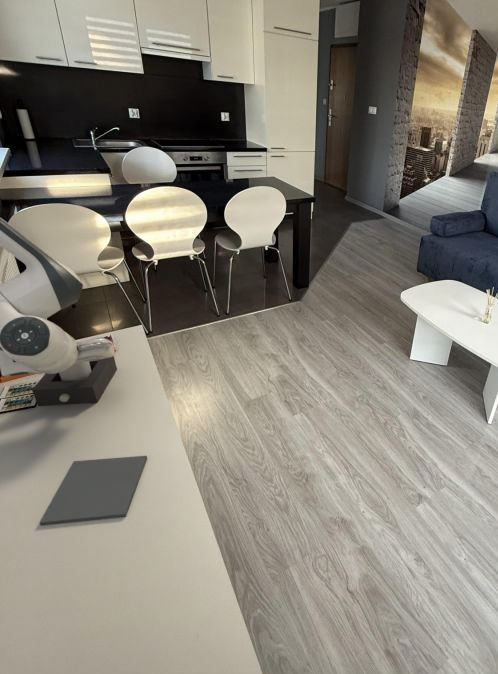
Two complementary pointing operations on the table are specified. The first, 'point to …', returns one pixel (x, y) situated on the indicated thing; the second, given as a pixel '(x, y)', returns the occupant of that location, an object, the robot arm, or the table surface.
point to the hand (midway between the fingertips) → (69, 362)
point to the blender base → (75, 385)
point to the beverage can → (76, 372)
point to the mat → (95, 490)
